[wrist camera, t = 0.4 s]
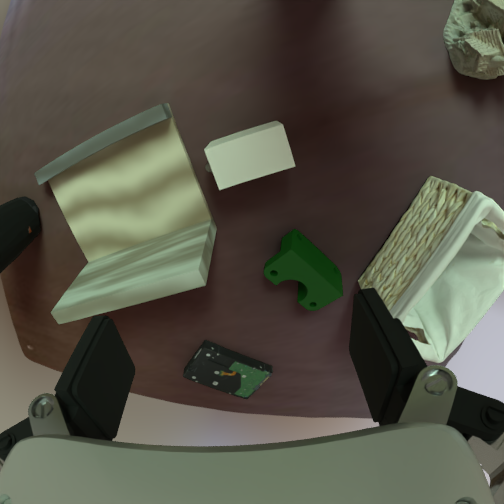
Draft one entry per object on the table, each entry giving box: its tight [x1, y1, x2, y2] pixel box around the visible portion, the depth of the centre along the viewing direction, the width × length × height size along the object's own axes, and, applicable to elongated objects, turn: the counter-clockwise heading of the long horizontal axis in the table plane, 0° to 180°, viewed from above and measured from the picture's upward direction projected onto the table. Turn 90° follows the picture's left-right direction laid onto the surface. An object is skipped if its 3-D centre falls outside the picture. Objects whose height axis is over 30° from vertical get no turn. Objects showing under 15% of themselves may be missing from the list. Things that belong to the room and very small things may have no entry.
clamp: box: [264, 229, 343, 311], centre depth 45 cm, size 12×6×9 cm, turn 40°
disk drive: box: [183, 340, 273, 399], centre depth 58 cm, size 10×3×15 cm
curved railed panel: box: [34, 103, 217, 324], centre depth 35 cm, size 19×22×14 cm
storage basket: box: [358, 176, 504, 363], centre depth 40 cm, size 24×16×15 cm
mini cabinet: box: [204, 121, 296, 190], centre depth 36 cm, size 5×10×7 cm, turn 108°
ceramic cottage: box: [443, 0, 504, 80], centre depth 23 cm, size 16×16×15 cm
